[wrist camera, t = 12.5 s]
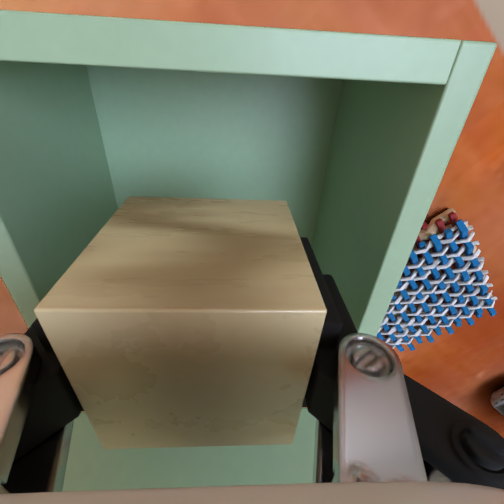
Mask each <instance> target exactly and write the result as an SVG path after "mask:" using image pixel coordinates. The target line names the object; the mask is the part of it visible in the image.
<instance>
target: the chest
mask: <svg viewBox="0 0 504 504" xmlns="http://www.w3.org/2000/svg"><path fill="white" fill-rule="evenodd" d="M496 47H497V44H496V43H495V42H484V41H469V40H461V41H460V40H456V39H440V38H425V37H410V36H395V35H379V34H364V33H349V32H334V31H318V30H303V29H288V28H273V27H257V26H242V25H227V24H212V23H197V22H181V21H166V20H151V19H136V18H120V17H105V16H90V15H75V14H59V13H44V12H29V11H14V10H0V276H1V278H2V280H3V281H4V283H5V285H6V287H7V289H8V291H9V293H10V294H11V296H12V298H13V300H14V302H15V304H16V306H17V307H18V309H19V311H20V313H21V315H22V317H23V318H24V320H25V322H26V324H27V326H28V328H30V327H31V325H32V323H33V322H34V321H35V320H36V318H37V317H36V315H35V313H34V309H35V308H36V306H37V305H38V304H39V303H40V302H41V300H42V299H43V298H44V297H45V296H46V294H47V293H48V292H49V291H50V290H51V288H52V287H53V286H54V285H55V284H56V282H57V281H58V280H59V279H60V278H61V277H62V275H63V274H64V273H65V272H66V271H67V269H68V268H69V267H70V266H71V265H72V263H73V262H74V261H75V260H76V259H77V257H78V256H79V255H80V254H81V253H82V251H83V250H84V249H85V248H86V247H87V245H88V244H89V243H90V242H91V241H92V240H93V238H94V237H95V236H96V235H97V234H98V232H99V231H100V230H101V229H102V228H103V226H104V225H105V224H106V223H107V222H108V220H109V219H110V218H111V217H112V216H113V214H114V213H115V212H116V211H117V210H118V208H119V207H120V206H121V205H122V204H123V203H124V201H125V200H126V199H127V198H128V197H129V196H133V197H170V198H206V199H243V200H280V201H287V204H288V207H289V209H290V212H291V215H292V217H293V220H294V223H295V226H296V228H297V231H298V234H299V236H300V237H307V238H308V240H309V242H310V245H311V247H312V250H313V252H314V255H315V257H316V259H317V262H318V264H319V267H320V269H321V272H322V274H330V275H331V276H332V277H333V279H334V281H335V283H336V285H337V287H338V290H339V292H340V294H341V296H342V298H343V301H344V303H345V305H346V307H347V310H348V312H349V314H350V316H351V318H352V321H353V323H354V325H355V327H356V329H357V332H358V333H366V334H369V335H373V336H377V333H378V331H379V329H380V326H381V324H382V321H383V319H384V317H385V314H386V312H387V309H388V307H389V305H390V302H391V300H392V297H393V295H394V292H395V290H396V288H397V285H398V283H399V280H400V278H401V276H402V273H403V271H404V268H405V266H406V264H407V261H408V259H409V256H410V254H411V251H412V249H413V247H414V244H415V242H416V239H417V237H418V235H419V232H420V230H421V227H422V225H423V223H424V220H425V218H426V215H427V213H428V211H429V208H430V206H431V203H432V201H433V198H434V196H435V194H436V191H437V189H438V186H439V184H440V182H441V179H442V177H443V174H444V172H445V170H446V167H447V165H448V162H449V160H450V157H451V155H452V153H453V150H454V148H455V145H456V143H457V141H458V138H459V136H460V133H461V131H462V129H463V126H464V124H465V121H466V119H467V117H468V114H469V112H470V109H471V107H472V104H473V102H474V100H475V97H476V95H477V92H478V90H479V88H480V85H481V83H482V80H483V78H484V76H485V73H486V71H487V68H488V66H489V63H490V61H491V59H492V56H493V54H494V51H495V49H496Z"/></svg>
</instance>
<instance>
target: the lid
mask: <svg viewBox="0 0 504 504" xmlns="http://www.w3.org/2000/svg"><path fill="white" fill-rule="evenodd" d="M315 430H316V418H315V417H314V416H313V415H311V414H310V413H309V412H308V409H307V408H302V409H301V413H300V417H299V420H298V424H297V428H296V432H295V436H294V440H293V443H292V444H278V445H240V446H203V447H166V448H129V449H103V447H102V445H101V443H100V441H99V439H98V437H97V435H96V433H95V431H94V429H93V427H92V425H91V423H90V421H89V419H88V417H87V415H86V413H85V412H81V413H80V415H79V416H78V417H77V418H76V419H74V424H73V430H72V436H71V442H70V448H69V454H68V460H67V466H66V472H65V478H64V484H63V490H62V492H66V491H93V490H121V489H149V488H178V487H207V486H237V485H270V484H303V483H313V465H314V448H315Z"/></svg>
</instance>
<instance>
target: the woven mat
mask: <svg viewBox="0 0 504 504" xmlns="http://www.w3.org/2000/svg"><path fill="white" fill-rule="evenodd" d="M448 221H450V222H451V224H449V225H446V226H445V225H444V224H445V223H447V222H448ZM467 223H468V221H467V220H465V221H462V220H458V217H457V213H456V212H455V210H454V209H452V208H449V209H448V210H446V211H444V212H443V213H441V214H439V215H438V216H436V217H434V218H433V219H431V221H430V223H429V225H427V223H426V222H425V223H423V225H422V227H421V230H420V232H419V235H418V237H417V239H416V242H415V244H414V247H413V249H412V251H411V254H410V256H409V259H408V261H407V264H406V266H405V268H404V271H403V273H402V274H403V275H402V276H401V278H400V280H399V283H398V285H397V288H396V290H395V292H394V295H393V297H392V300H391V302H390V305H391V306H390V305H389V307H388V309H387V312H386V314H385V317H384V319H383V321H382V324H381V326H380V329H379V331H378V333H377V336H376V337H378V338H379V339H381V340H383V341H385V342H386V343H387V344H388V345H389V346H391V345H392V346H391V347H392V348H394V347H395V345H396V347H397V348H398V350H400V352H401V351H404V348H403V347H402V345H401V344H407V345H408V347H409V348H410V350H411V351H413V350H415V348H414V346H413V344H412V343H411V341H412V340H413V338H414V337H415V339H416V340H417V342H418V343H419V344H420V343H422V339H421V337H420V336H426V337H427V339H428V340H429V342H430V343H431V342H433V341H434V339H433V338H432V336H431V334H430V333H431V332H432V330H434V331H435V332H436V334H437V335H441V334H442V333H441V329H440V328H439V327H445V328H446V330H447V331H448V333H449V334H452V333H454V331H453V329H452V328H451V326H450V325H451V324H452V322H453V323H455V325H456V326H457V327H459V326H462V325H461V321H462V320H461V319H460V318H464V319H466V320H467V323H468V324H469V325H470V326H471V325H473V324H475V323H474V321H473V319H472V318H471V316H472V314H474V315H476V317H478V318H480V317H482V313H483V310H482V308H487V310H488V312H489V314H490V315H491V316H494V315H496V311H495V309H494V308H493V306H494V303H495V300H497V297H492V296H493V295H492V294H491V293H492V291H493V290H492V291H491V292H490V293H488V292H487V291H488V289H489V288H488V287H493V284H490V283H486V282H487V280H488V279H489V276H488V275H486V277H485V275H484V274H488V271H487V270H485V271H481V268H483V264H484V257H478V255H479V254H480V252H481V251H480V250H479V249H478V250H477V251H476V248H477V247H476V246H475V245H479V241H473V242H471V239H472V237H473V236H474V233H475V232H472V231H471V233H470V234H469V235H468V231H469V230H473V226H468V224H467ZM453 233H455V234H454V235H453ZM441 239H442V240H441ZM457 244H459V245H458V246H457ZM429 248H430V249H429ZM428 249H429V251H428ZM457 250H458V251H457ZM446 251H447V252H446ZM475 251H476V252H475ZM416 254H419V258H418V257H417V255H416ZM479 261H481V262H480V263H479ZM409 269H410V270H409ZM417 280H418V282H415V281H417ZM459 289H460V290H459ZM476 294H477V295H476ZM492 300H494V301H492ZM417 304H418V305H417ZM469 310H471V311H469ZM457 311H458V312H457ZM456 313H457V314H456ZM460 314H461V315H460ZM423 316H425V317H424V318H421V317H423ZM396 319H397V320H396ZM448 319H450V320H448ZM415 320H416V322H414V321H415ZM437 320H438V321H437ZM390 321H392V322H390ZM436 321H437V322H436ZM440 323H442V324H440ZM410 332H411V333H410ZM407 336H411V337H410V338H408V337H407ZM397 338H398V339H397ZM402 339H404V341H402ZM390 341H393V342H390Z"/></svg>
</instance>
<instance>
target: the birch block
mask: <svg viewBox="0 0 504 504" xmlns="http://www.w3.org/2000/svg"><path fill="white" fill-rule="evenodd" d="M34 313H35V315H36V317H37V319H38V321H39V323H40V325H41V327H42V329H43V331H44V333H45V334H46V336H47V338H48V340H49V342H50V344H51V346H52V348H53V350H54V352H55V354H56V356H57V358H58V360H59V362H60V364H61V366H62V368H63V370H64V372H65V374H66V376H67V378H68V380H69V382H70V384H71V386H72V388H73V390H74V392H75V394H76V396H77V398H78V400H79V402H80V404H81V406H82V408H83V409H84V411H85V413H86V415H87V417H88V419H89V421H90V423H91V425H92V427H93V429H94V431H95V433H96V435H97V437H98V439H99V441H100V443H101V445H102V447H103V449H129V448H166V447H203V446H240V445H278V444H292V443H293V440H294V436H295V432H296V428H297V424H298V420H299V417H300V413H301V409H302V405H303V401H304V397H305V394H306V390H307V386H308V382H309V378H310V374H311V371H312V367H313V363H314V359H315V355H316V352H317V348H318V344H319V340H320V336H321V332H322V329H323V325H324V321H325V317H326V313H327V309H326V307H325V304H324V301H323V299H322V296H321V293H320V290H319V288H318V285H317V282H316V280H315V277H314V274H313V272H312V269H311V266H310V263H309V261H308V258H307V255H306V253H305V250H304V247H303V244H302V242H301V239H300V236H299V234H298V231H297V228H296V226H295V223H294V220H293V217H292V215H291V212H290V209H289V207H288V204H287V201H280V200H243V199H206V198H170V197H133V196H129V197H128V198H127V199H126V200H125V201H124V203H123V204H122V205H121V206H120V207H119V208H118V210H117V211H116V212H115V213H114V214H113V216H112V217H111V218H110V219H109V220H108V222H107V223H106V224H105V225H104V226H103V228H102V229H101V230H100V231H99V232H98V234H97V235H96V236H95V237H94V238H93V240H92V241H91V242H90V243H89V244H88V245H87V247H86V248H85V249H84V250H83V251H82V253H81V254H80V255H79V256H78V257H77V259H76V260H75V261H74V262H73V263H72V265H71V266H70V267H69V268H68V269H67V271H66V272H65V273H64V274H63V275H62V277H61V278H60V279H59V280H58V281H57V282H56V284H55V285H54V286H53V287H52V288H51V290H50V291H49V292H48V293H47V294H46V296H45V297H44V298H43V299H42V300H41V302H40V303H39V304H38V305H37V306H36V308H35V309H34Z"/></svg>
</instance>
